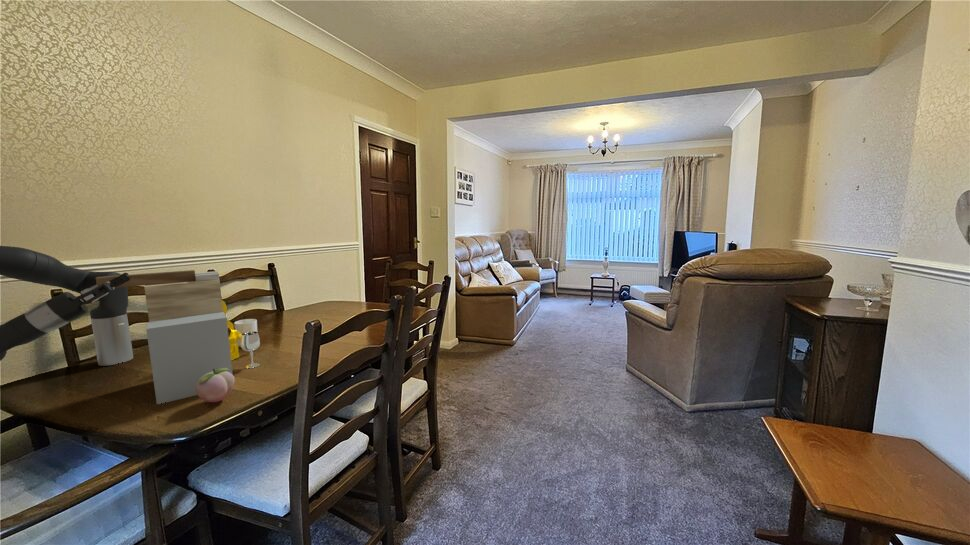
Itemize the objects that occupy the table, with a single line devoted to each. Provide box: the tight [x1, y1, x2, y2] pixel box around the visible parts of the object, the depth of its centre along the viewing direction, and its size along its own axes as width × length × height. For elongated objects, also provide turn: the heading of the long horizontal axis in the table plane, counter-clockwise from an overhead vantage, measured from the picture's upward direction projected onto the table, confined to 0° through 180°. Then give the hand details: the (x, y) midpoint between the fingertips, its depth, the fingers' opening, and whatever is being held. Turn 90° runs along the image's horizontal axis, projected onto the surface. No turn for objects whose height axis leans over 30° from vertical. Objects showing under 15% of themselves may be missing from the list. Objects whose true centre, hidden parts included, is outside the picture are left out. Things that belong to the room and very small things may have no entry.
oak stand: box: [144, 279, 223, 322], centre depth 119 cm, size 10×18×32 cm, turn 130°
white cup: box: [233, 318, 258, 348], centre depth 152 cm, size 8×8×10 cm
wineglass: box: [240, 331, 261, 369], centre depth 129 cm, size 6×6×12 cm
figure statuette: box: [222, 300, 242, 362], centre depth 136 cm, size 18×8×22 cm, turn 149°
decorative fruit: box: [195, 368, 236, 403], centre depth 104 cm, size 9×8×10 cm
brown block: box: [96, 269, 220, 288], centre depth 114 cm, size 8×28×3 cm, turn 130°
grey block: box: [145, 312, 234, 405], centre depth 111 cm, size 9×18×22 cm, turn 130°
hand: (128, 275), depth 109 cm, fingers closed on brown block, 3 cm apart
